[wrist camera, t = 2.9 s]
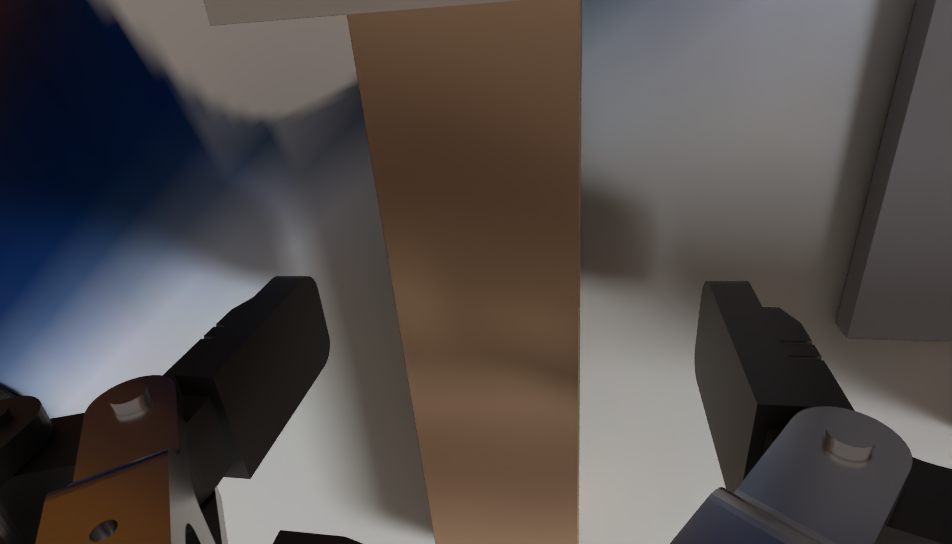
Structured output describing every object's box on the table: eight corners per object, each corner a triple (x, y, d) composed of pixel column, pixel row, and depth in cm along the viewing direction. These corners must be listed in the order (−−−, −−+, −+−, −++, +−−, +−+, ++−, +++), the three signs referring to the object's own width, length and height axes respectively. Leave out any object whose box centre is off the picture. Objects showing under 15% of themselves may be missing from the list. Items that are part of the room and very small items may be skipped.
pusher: (645, 566, 17) (659, 717, 14) (423, 543, 19) (386, 675, 15) (704, -104, 9) (774, -148, 6) (314, -61, 11) (183, -76, 7)
